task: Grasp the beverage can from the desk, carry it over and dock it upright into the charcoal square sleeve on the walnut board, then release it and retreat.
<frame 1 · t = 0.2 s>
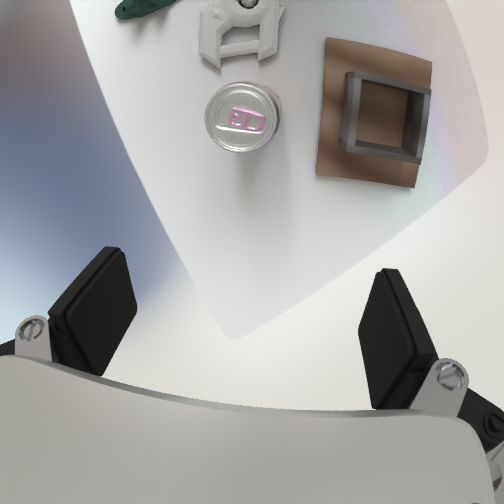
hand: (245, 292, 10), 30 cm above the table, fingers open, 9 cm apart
can dock: (375, 113, 32), on the table
beverage can: (257, 107, 34), on the table
grey mechanical plate: (244, 6, 27), on the table
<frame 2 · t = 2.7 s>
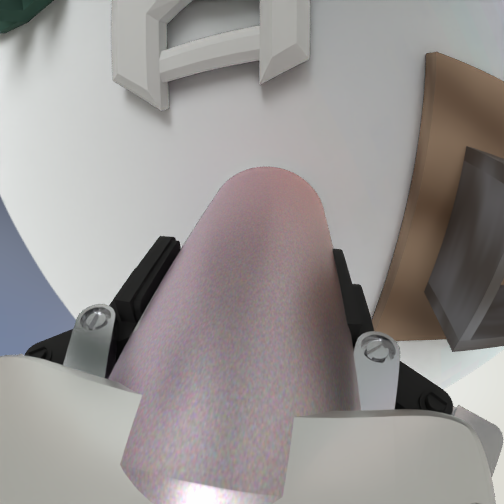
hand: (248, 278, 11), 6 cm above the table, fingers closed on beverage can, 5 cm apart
can dock: (490, 225, 14), on the table
beverage can: (268, 215, 16), on the table, touching gripper
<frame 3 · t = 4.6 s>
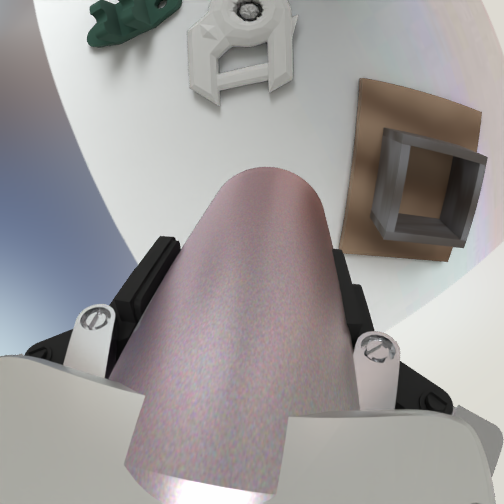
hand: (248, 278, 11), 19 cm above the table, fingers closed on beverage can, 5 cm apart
mount: (135, 20, 21), on the table
can dock: (413, 176, 26), on the table
beverage can: (268, 215, 16), point 13 cm above the table, touching gripper
grey mechanical plate: (244, 19, 21), on the table
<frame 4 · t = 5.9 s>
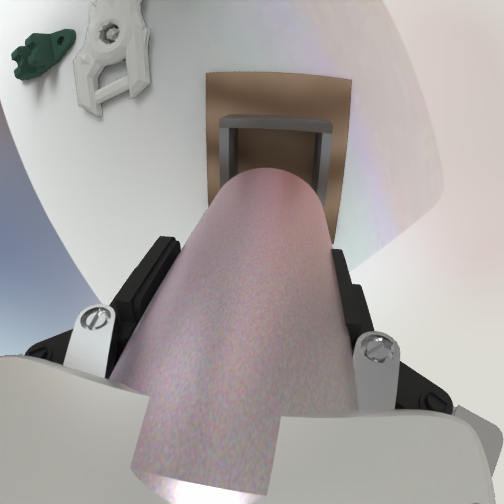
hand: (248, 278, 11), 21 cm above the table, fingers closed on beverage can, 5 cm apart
mount: (48, 55, 24), on the table
can dock: (275, 158, 29), on the table
beverage can: (268, 216, 16), point 16 cm above the table, touching gripper
grey mechanical plate: (116, 39, 24), on the table
when the fingers open (8 cm above the table, at t = 8.5 s): beverage can drops 1 cm, resting on can dock.
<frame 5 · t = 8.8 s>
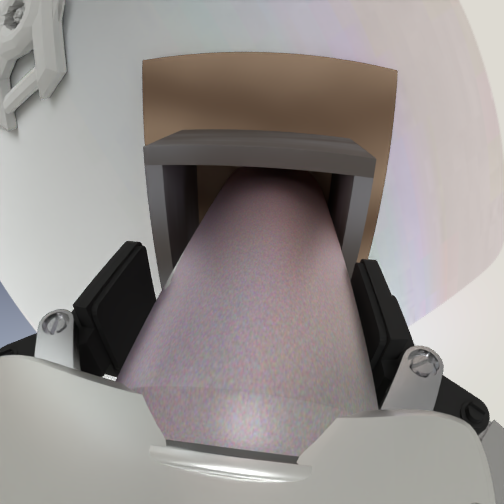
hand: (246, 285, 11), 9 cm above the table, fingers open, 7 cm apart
can dock: (263, 201, 18), on the table
beverage can: (272, 204, 17), point 1 cm above the table, touching can dock
grey mechanical plate: (31, 22, 12), on the table
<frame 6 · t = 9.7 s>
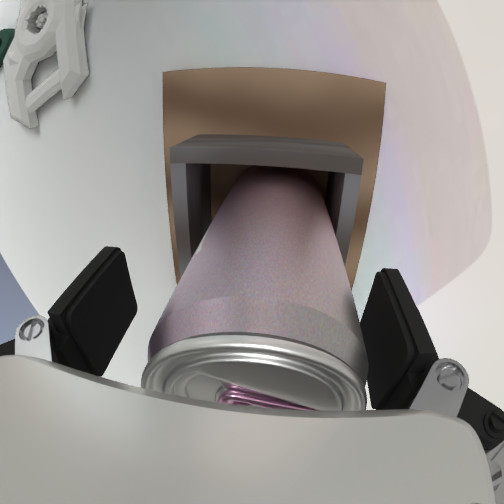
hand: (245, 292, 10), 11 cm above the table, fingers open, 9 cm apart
can dock: (268, 198, 21), on the table
beverage can: (276, 200, 19), point 1 cm above the table, touching can dock
grey mechanical plate: (52, 28, 15), on the table
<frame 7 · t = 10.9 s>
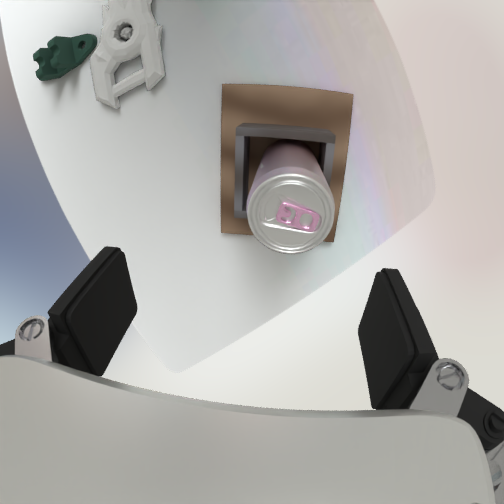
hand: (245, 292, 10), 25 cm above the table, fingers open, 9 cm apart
mount: (68, 57, 27), on the table
can dock: (283, 163, 33), on the table
beverage can: (288, 163, 32), point 1 cm above the table, touching can dock
grey mechanical plate: (129, 38, 26), on the table
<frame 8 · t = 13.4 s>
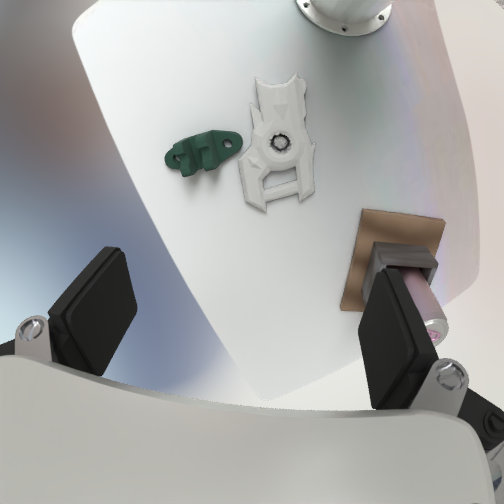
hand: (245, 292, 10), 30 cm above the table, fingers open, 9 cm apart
mount: (204, 149, 38), on the table
can dock: (391, 265, 44), on the table
beverage can: (396, 267, 43), point 1 cm above the table, touching can dock
grey mechanical plate: (276, 143, 37), on the table
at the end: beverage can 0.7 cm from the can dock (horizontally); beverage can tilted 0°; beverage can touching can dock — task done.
